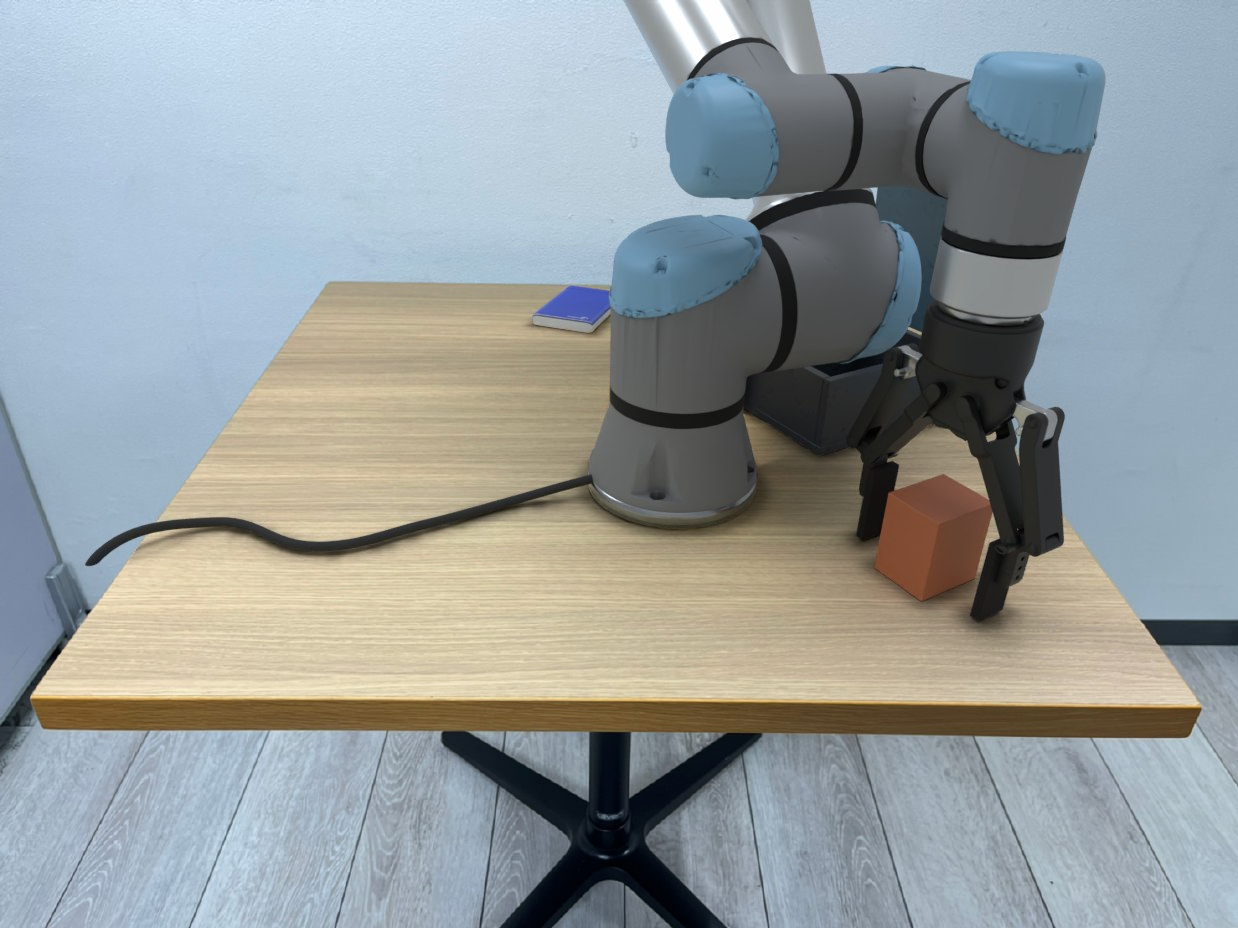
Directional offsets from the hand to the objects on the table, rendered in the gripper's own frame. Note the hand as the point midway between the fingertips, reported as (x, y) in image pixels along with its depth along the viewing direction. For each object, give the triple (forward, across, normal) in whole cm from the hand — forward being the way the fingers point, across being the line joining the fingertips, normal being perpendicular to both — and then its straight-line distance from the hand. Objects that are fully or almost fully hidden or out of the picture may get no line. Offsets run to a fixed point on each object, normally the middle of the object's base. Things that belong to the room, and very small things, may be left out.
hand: (925, 571), depth 72 cm
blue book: (0, +64, -4) cm, 64 cm away
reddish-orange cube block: (0, 0, 0) cm, 0 cm away
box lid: (-17, +25, -22) cm, 37 cm away
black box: (0, +25, -14) cm, 29 cm away
